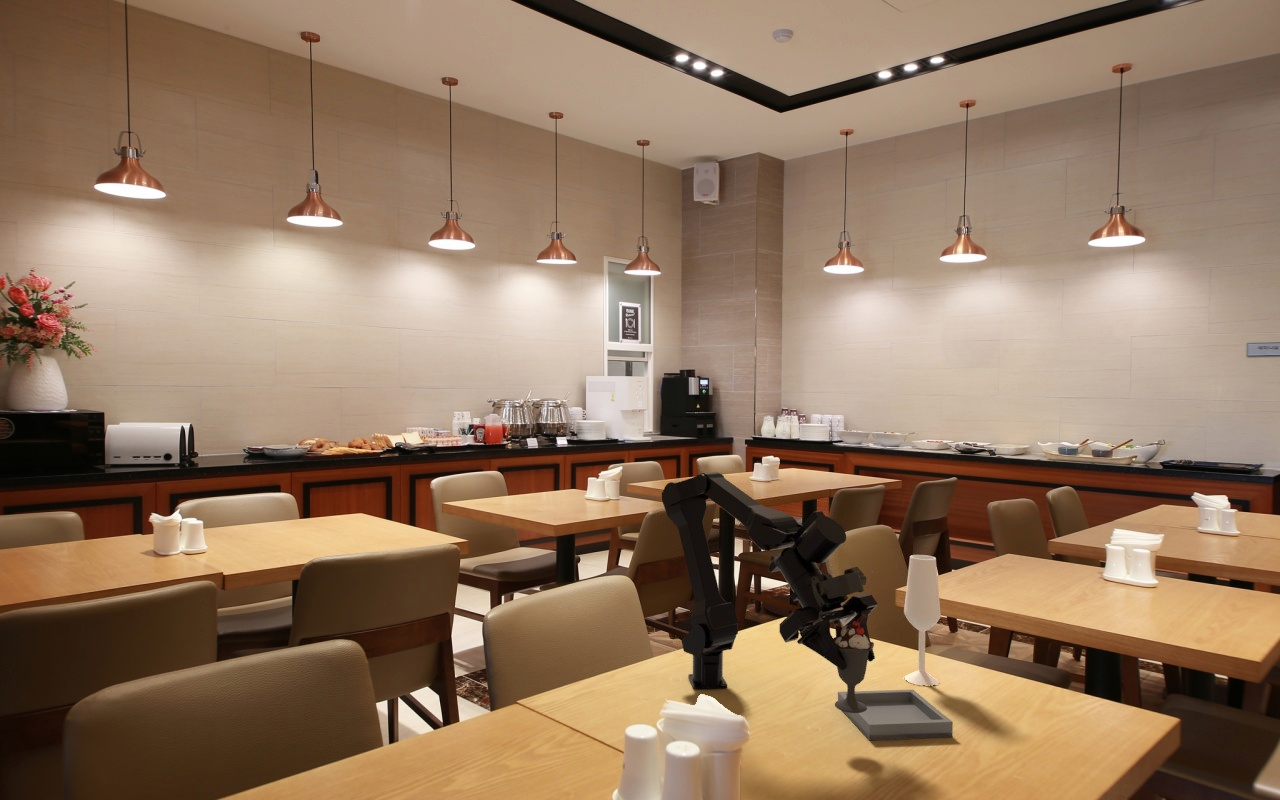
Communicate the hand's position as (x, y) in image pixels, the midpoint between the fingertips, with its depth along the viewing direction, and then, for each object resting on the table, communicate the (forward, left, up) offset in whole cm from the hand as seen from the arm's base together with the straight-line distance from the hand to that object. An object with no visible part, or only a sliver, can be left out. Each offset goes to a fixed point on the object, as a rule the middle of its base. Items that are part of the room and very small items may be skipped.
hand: (859, 664), depth 121 cm
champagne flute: (-28, +24, -13) cm, 39 cm away
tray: (-10, +10, -13) cm, 19 cm away
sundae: (-1, -1, -7) cm, 7 cm away
